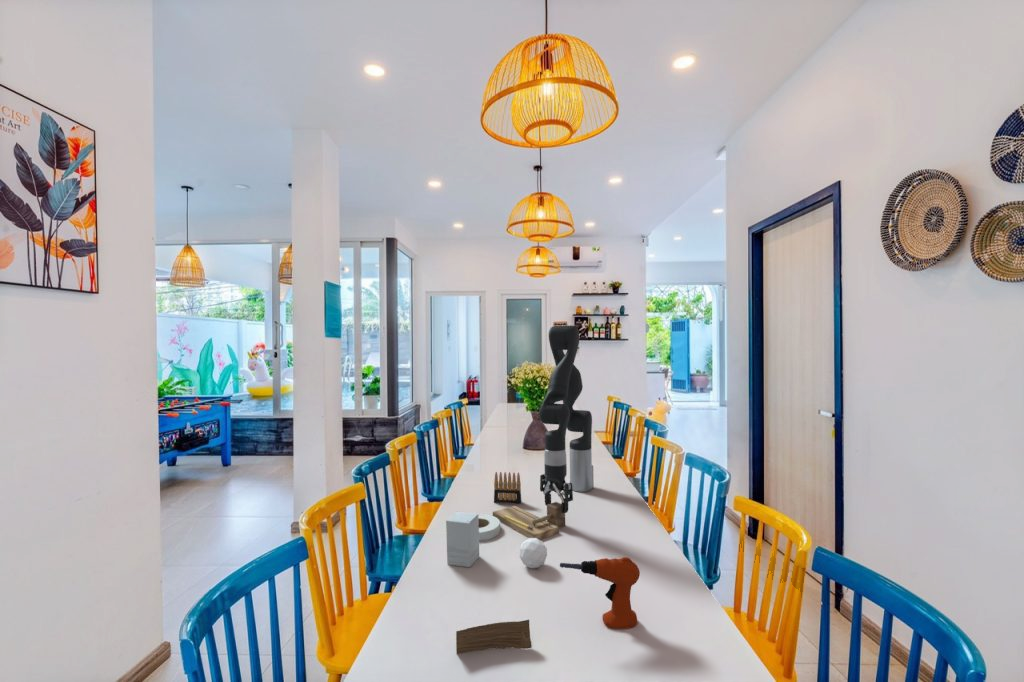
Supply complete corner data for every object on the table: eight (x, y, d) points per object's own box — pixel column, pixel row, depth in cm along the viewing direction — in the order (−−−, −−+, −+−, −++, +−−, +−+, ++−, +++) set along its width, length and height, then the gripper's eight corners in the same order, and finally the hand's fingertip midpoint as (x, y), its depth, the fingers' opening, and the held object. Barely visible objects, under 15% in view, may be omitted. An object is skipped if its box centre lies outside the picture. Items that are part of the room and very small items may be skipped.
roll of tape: (445, 535, 148) (444, 527, 148) (470, 519, 162) (470, 511, 162) (485, 545, 141) (485, 536, 141) (508, 526, 155) (508, 518, 155)
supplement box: (480, 556, 133) (479, 513, 133) (469, 568, 126) (469, 523, 126) (457, 552, 136) (456, 510, 136) (446, 564, 129) (445, 520, 129)
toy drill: (552, 612, 103) (559, 546, 103) (632, 618, 104) (639, 553, 104) (555, 625, 98) (563, 557, 98) (639, 632, 99) (647, 564, 99)
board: (515, 511, 168) (514, 505, 168) (558, 532, 149) (558, 526, 149) (492, 517, 162) (492, 511, 162) (534, 541, 143) (534, 534, 143)
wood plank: (456, 659, 91) (456, 634, 91) (456, 652, 93) (455, 627, 93) (531, 648, 93) (531, 624, 93) (529, 642, 95) (529, 618, 95)
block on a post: (556, 521, 158) (556, 501, 158) (565, 525, 154) (565, 505, 154) (529, 530, 151) (528, 509, 151) (537, 535, 147) (537, 513, 147)
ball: (540, 577, 126) (552, 561, 122) (514, 569, 125) (525, 553, 121) (540, 552, 133) (551, 536, 129) (515, 545, 132) (525, 528, 128)
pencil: (505, 517, 157) (505, 515, 157) (532, 529, 147) (532, 527, 147) (503, 518, 156) (503, 515, 156) (530, 530, 146) (530, 527, 146)
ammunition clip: (521, 502, 177) (521, 471, 177) (520, 503, 175) (520, 472, 175) (494, 501, 179) (494, 470, 179) (493, 502, 177) (493, 472, 177)
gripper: (578, 464, 151) (578, 512, 151) (550, 455, 163) (550, 500, 163) (561, 468, 147) (562, 518, 147) (533, 459, 158) (534, 505, 158)
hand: (556, 508), depth 155 cm, fingers open, 8 cm apart
